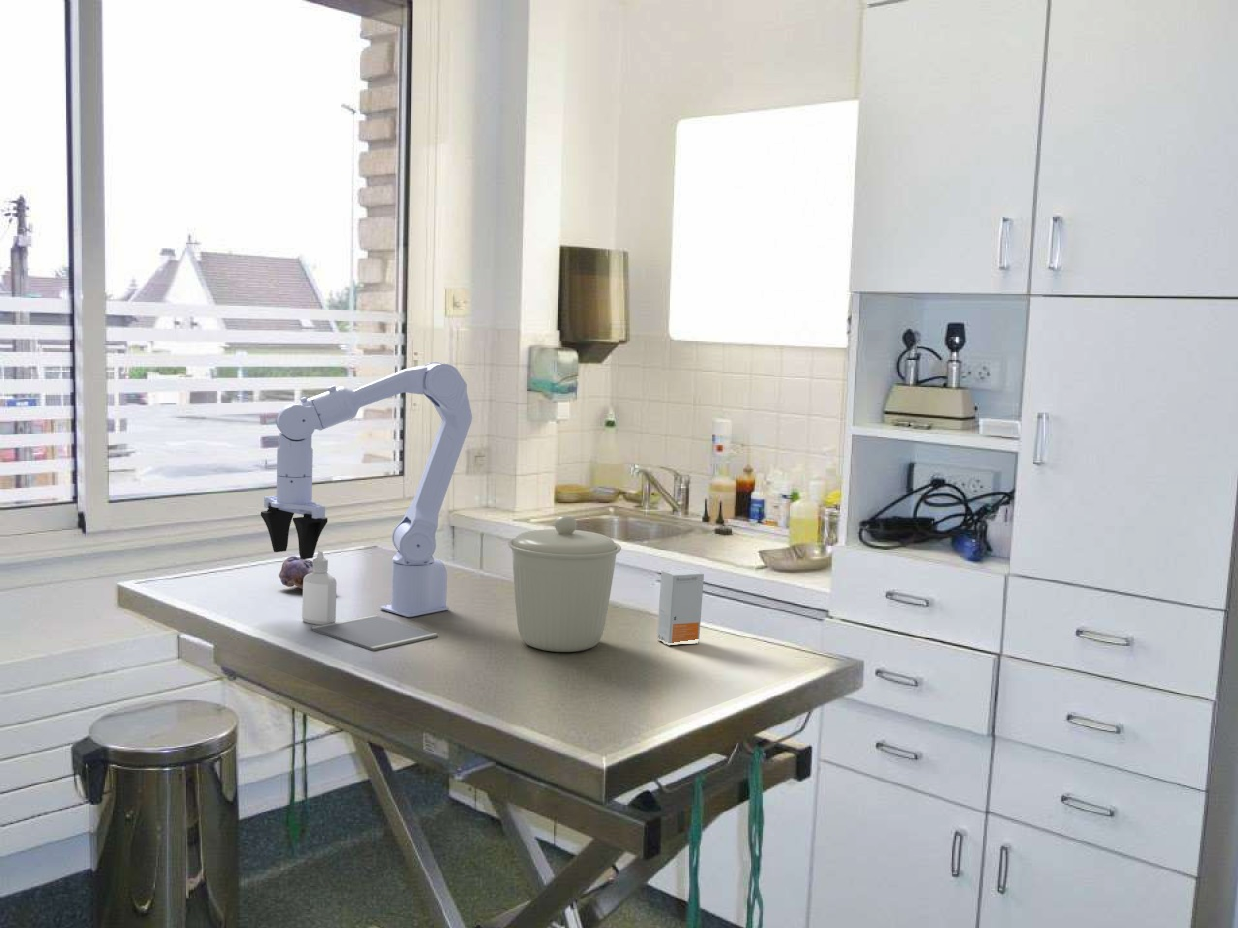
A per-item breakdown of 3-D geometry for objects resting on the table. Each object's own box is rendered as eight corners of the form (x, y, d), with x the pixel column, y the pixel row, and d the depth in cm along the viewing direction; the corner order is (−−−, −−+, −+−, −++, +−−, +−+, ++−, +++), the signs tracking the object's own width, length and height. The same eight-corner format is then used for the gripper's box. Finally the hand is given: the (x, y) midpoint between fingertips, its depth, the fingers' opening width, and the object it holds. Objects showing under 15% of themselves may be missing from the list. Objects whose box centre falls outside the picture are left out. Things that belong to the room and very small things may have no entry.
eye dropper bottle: (313, 627, 182) (314, 555, 181) (299, 619, 186) (301, 549, 185) (338, 624, 185) (340, 553, 184) (324, 616, 189) (325, 547, 188)
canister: (639, 648, 180) (645, 519, 177) (556, 666, 167) (562, 528, 165) (563, 624, 192) (569, 504, 190) (481, 640, 179) (486, 511, 177)
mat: (375, 617, 190) (375, 615, 190) (437, 636, 180) (437, 633, 180) (311, 630, 180) (311, 627, 180) (373, 650, 170) (373, 647, 170)
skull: (345, 594, 207) (346, 561, 206) (312, 600, 201) (312, 567, 200) (304, 583, 214) (304, 552, 213) (270, 589, 208) (271, 557, 207)
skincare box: (669, 647, 181) (673, 575, 180) (656, 640, 185) (660, 570, 184) (700, 644, 184) (704, 573, 183) (687, 637, 188) (691, 568, 186)
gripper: (249, 472, 188) (247, 550, 190) (300, 481, 179) (298, 564, 181) (284, 469, 194) (283, 546, 195) (336, 479, 185) (334, 559, 186)
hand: (293, 554), depth 188 cm, fingers open, 7 cm apart
